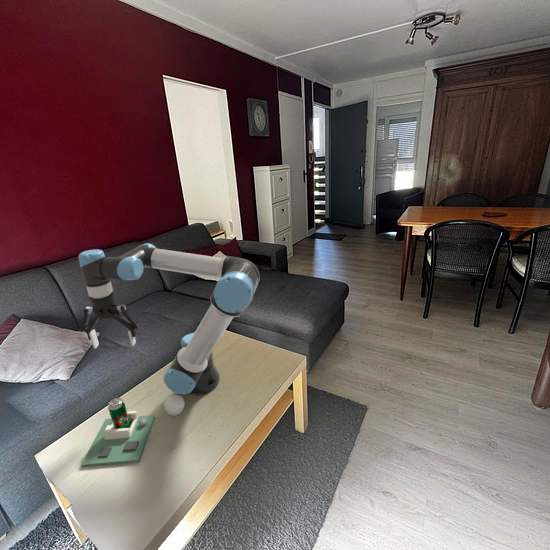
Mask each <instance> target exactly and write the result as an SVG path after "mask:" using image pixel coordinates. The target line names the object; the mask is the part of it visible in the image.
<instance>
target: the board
mask: <svg viewBox="0 0 550 550" xmlns="http://www.w3.org/2000/svg"><path fill="white" fill-rule="evenodd" d="M127 414H128V417H129V421H130V426H129V428H122V429H114V425H113V422H112V419H111V418H105V420H104V421H103V423H102V425H101V427H100V429H99V431H98V432H97V435H96V436H95V438H94V439H93V441H92V443H91V446H90V447H89V449H88V451H87V452H86V454H85V456H84V458H83V460H82V462H81V463H80V466H81V468H90V467H92V468H93V467H101V466H113V465H114V466H115V465H125V464H136V463H140V461H141V458H142V455H143V453H144V450H145V447H146V444H147V442H148V438H149V436H150V433H151V431H152V428H153V425H154V423H155V419H156V415H155V414H152V415H150V414H149V415H141V416H140V415H139V414H138V411H137V410H131V411H127Z"/></svg>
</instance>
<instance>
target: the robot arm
mask: <svg viewBox="0 0 550 550" xmlns="http://www.w3.org/2000/svg"><path fill="white" fill-rule="evenodd" d="M78 263H79V267H80V270H81V273H82V276H83V279H84V283H85V287H86V290H87V294H88V297H89V301H90V304H91V305H87V306H86V307H85V308H84V309H83V318H82V321H81V325H80V328H79V332H80V333H83V332H84V333H85V334H86V335H87V339H88V340H89V341H91V344H92V347H93V349H97V347H98V346H99V345H100V343H99V339H98V336H97V331H96V329H93V328H94V327H95V326H96V324H97V323H98V322H99V319H102V320H106V319H113V320H116V321H118V322H119V323H120V324H121V325H123V326H124V327H125V328H126V329H128V330H127V333H128V337H129V341H130V342H129V343H130V345H131V347H134V346H135V345H136V343H137V339H136V337H137V331H136V329H138V328H139V327H140V325H141V323H140V322H139V320H137V317H135V316H134V314H133V313H132V312H131V311H130V310H129V309H128V306H127V304H126V303H123V304H121V305H117V301H116V296H115V292H113V291H114V288H113V285H112V282H111V281H112V280H116V281H117V280H118V281H119V280H120V281H133V280H136V281H137V280H139V279H140V278H141V277H142V274H143V273H144V268H149V269H157V270H162V271H163V270H164V271H170V272H175V273H181V274H188V275H193V276H194V275H195V276H199V277H200V276H201V277H207V278H213V279H218V281H217V282H216V285H215V287H214V290H213V292H212V294H211V296H210V303H211V304H210V306H209V308H208V309H207V311H206V313H205V315H204V317H203V318H202V319H201V321H200V322H199V323H200V324H199V325H198V327H197V328H196V330H195V331H194V332H191V333H188V334H186V335H184V336H183V337H182V338H181V343H180V344H181V348H180V349H179V351H178V352H177V354H176V356H175V357H174V359H173V360H172V362H171V364H170V365H169V367H168V369H166V370H165V372H164V375H163V382H164V384H165V386H166V387H167V388H168V389H169V390H170V391H171V392H174V393H176V394H178V395H186V394H190V393H191V394H195V395H198V394H199V395H201V394H205V393H209V392H210V391H213V390H214V389H215V388H217V386H218V384H219V383H220V379H221V378H220V372H219V370H218V369H217V367H216V364H215V363H214V356H213V355H214V354H213V350H214V348H215V347H216V345H217V344H218V342H219V341H220V339H221V338H222V336H223V334H224V333H225V331H226V329H228V327H229V325H230V323H231V322H232V320H233V319H234V318H236V317H240V316H241V315H242V313H243V312H244V310H246V308H248V307H249V305H250V304H251V302H252V300H253V299H254V295H255V293H256V290H257V288H258V285H259V283H260V277H261V276H260V272H259V269H258V267H257V265H256V264H255V263H253V262H252V261H250V260H249V259H246V258H241V257H235V256H230V255H225V256H223V257H217V256H210V255H205V254H204V255H202V254H198V253H197V254H196V253H188V252H183V251H177V250H176V251H175V250H168V249H163V248H161V249H160V248H157V247H156V246H155V245H153V244H152V243H148V242H147V243H144V244H140V245H138V246H136V247H135V248H132V249H131V250H130V251H128V252H127V251H126V252H125V253H124V254H122V255H120V256H106V254H105V253H104V251H103V250H102V249H95V248H94V249H89V250H84V251H82V252H80V253H79V254H78ZM92 313H94V315H95V316H94V318H93V320H92V321H91V323H90V324H89V321H90V317H91V314H92ZM88 324H89V325H88Z"/></svg>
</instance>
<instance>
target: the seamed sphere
mask: <svg viewBox="0 0 550 550" xmlns="http://www.w3.org/2000/svg"><path fill="white" fill-rule="evenodd" d="M162 406H164V408H163V409H164V411H165V413H166V414H168V415H169V416H177V415H180V414H181V413H182V412H183V410H184V409H185V399H184V398H183V397H182V396H181V395H180V394H172V395H170V396H169V397H167V398H166V400H165V402H164V404H162V405H160V407H162ZM157 407H159V405H158V406H157ZM157 407H156V408H157Z"/></svg>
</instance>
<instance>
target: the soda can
mask: <svg viewBox="0 0 550 550" xmlns="http://www.w3.org/2000/svg"><path fill="white" fill-rule="evenodd" d="M107 408H108V412H109V415H110V419H112V422H113V425H114V429H122V428H129V426H130V421H129V417H128V414H127V412H128V410H127V407H126V403H125V400H124V399H122V398H121V397H115V398H113V399H112V400H110V401H109V402H108V406H107Z"/></svg>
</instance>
